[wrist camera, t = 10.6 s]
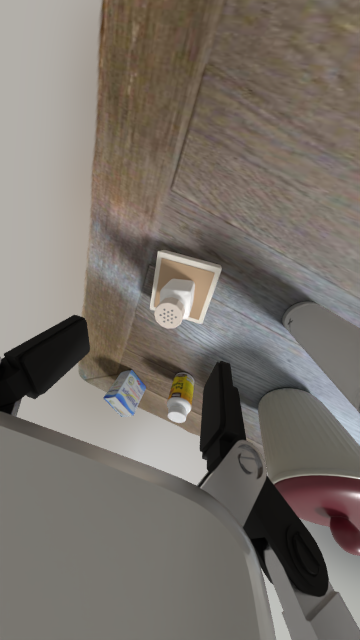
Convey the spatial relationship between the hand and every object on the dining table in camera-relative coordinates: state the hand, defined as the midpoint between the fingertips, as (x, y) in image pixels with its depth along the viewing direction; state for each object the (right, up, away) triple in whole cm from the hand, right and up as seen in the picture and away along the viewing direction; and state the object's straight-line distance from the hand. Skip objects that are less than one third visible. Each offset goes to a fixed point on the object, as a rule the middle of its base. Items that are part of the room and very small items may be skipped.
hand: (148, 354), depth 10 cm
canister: (+29, -18, +27) cm, 44 cm away
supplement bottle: (+3, -14, +30) cm, 33 cm away
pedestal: (+3, +9, +18) cm, 20 cm away
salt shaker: (+3, +7, +14) cm, 16 cm away
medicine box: (-12, -15, +34) cm, 39 cm away
